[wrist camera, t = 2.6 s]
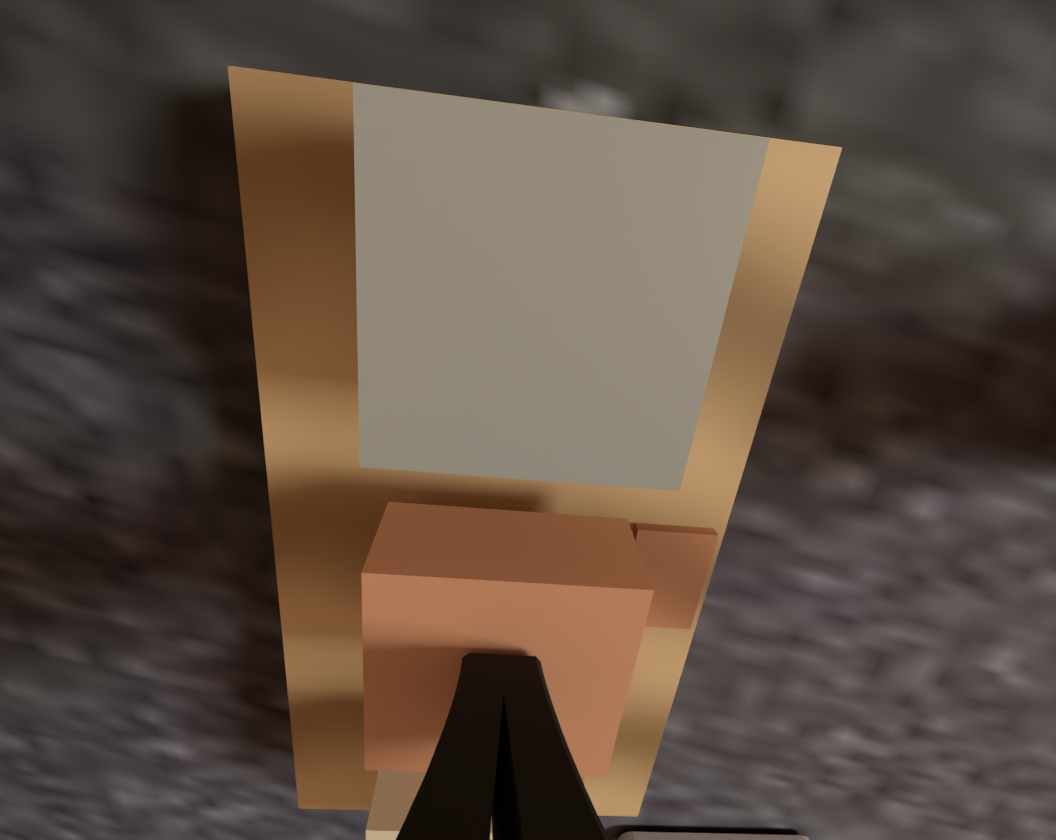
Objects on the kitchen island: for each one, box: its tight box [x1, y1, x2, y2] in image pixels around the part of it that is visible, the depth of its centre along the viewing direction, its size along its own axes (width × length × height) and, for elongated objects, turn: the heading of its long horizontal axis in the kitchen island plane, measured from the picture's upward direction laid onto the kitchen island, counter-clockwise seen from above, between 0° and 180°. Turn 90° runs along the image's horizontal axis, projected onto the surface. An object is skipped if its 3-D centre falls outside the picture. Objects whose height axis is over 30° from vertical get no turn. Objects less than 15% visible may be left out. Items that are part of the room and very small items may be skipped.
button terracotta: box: [361, 502, 654, 777], centre depth 11 cm, size 5×5×2 cm
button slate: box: [353, 83, 770, 491], centre depth 8 cm, size 5×5×2 cm
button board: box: [228, 66, 842, 816], centre depth 14 cm, size 20×11×3 cm, turn 174°
